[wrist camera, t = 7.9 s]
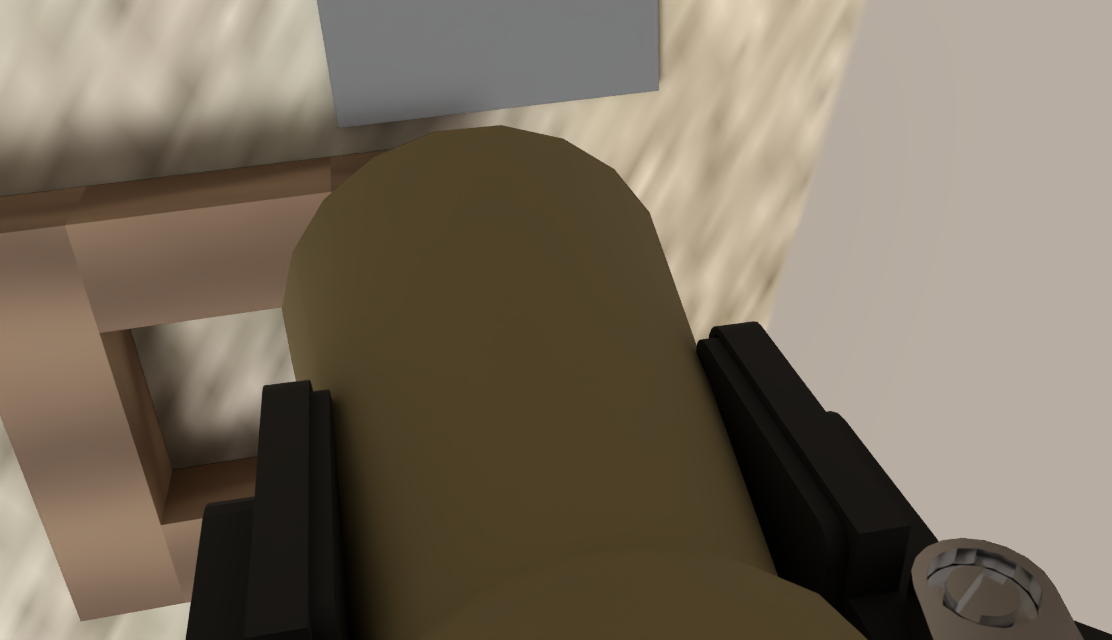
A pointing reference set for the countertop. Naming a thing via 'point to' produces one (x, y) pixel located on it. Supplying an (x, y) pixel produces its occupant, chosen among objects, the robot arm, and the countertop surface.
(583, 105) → the countertop surface
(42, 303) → the socket block
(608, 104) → the countertop surface
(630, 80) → the rubber mat
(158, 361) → the countertop surface
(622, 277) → the cork
